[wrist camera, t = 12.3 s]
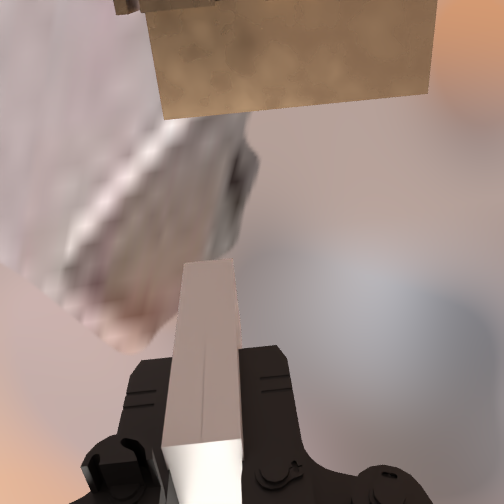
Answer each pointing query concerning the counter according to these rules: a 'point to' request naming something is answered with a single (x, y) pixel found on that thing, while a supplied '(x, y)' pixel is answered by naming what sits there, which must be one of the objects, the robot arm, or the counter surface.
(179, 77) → the brown board
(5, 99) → the counter surface
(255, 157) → the counter surface
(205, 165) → the counter surface
